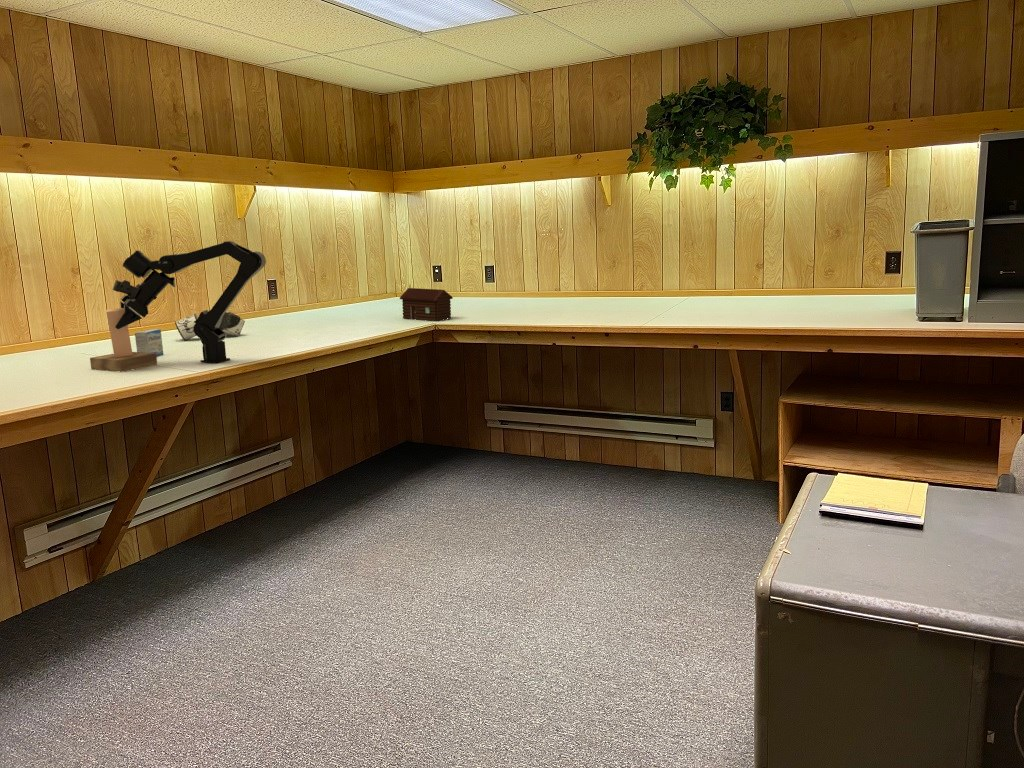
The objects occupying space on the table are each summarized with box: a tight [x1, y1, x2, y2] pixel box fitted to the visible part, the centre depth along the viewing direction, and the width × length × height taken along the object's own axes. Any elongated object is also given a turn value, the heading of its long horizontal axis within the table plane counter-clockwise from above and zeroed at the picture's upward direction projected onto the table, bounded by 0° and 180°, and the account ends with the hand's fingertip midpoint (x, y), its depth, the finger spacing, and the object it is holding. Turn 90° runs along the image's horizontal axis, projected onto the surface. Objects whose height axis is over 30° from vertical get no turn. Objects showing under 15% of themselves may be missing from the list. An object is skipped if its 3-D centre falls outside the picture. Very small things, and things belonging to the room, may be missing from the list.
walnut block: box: [89, 351, 158, 373], centre depth 242 cm, size 13×13×4 cm
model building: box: [399, 284, 454, 322], centre depth 348 cm, size 21×12×15 cm, turn 55°
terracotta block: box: [105, 307, 133, 358], centre depth 240 cm, size 5×5×14 cm
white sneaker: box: [174, 311, 246, 342], centre depth 299 cm, size 25×10×10 cm, turn 125°
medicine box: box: [134, 328, 164, 357], centre depth 260 cm, size 8×4×9 cm, turn 170°
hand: (115, 326), depth 239 cm, fingers open, 9 cm apart
